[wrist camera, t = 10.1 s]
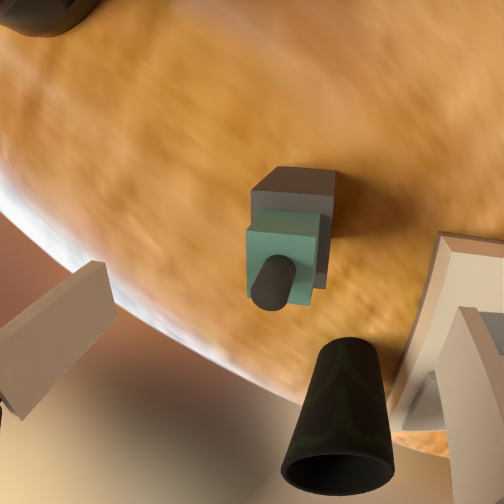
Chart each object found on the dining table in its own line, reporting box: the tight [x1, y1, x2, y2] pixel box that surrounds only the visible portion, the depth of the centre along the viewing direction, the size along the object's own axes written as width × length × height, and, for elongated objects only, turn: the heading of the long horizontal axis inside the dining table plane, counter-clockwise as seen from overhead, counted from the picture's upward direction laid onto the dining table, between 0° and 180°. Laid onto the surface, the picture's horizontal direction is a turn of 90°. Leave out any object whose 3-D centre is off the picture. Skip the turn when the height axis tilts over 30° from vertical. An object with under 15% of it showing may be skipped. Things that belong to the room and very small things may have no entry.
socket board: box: [385, 232, 504, 431], centre depth 21 cm, size 19×14×4 cm
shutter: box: [402, 372, 446, 431], centre depth 19 cm, size 7×11×5 cm, turn 90°
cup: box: [281, 337, 395, 496], centre depth 22 cm, size 8×8×12 cm
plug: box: [246, 167, 336, 311], centre depth 17 cm, size 5×4×12 cm
